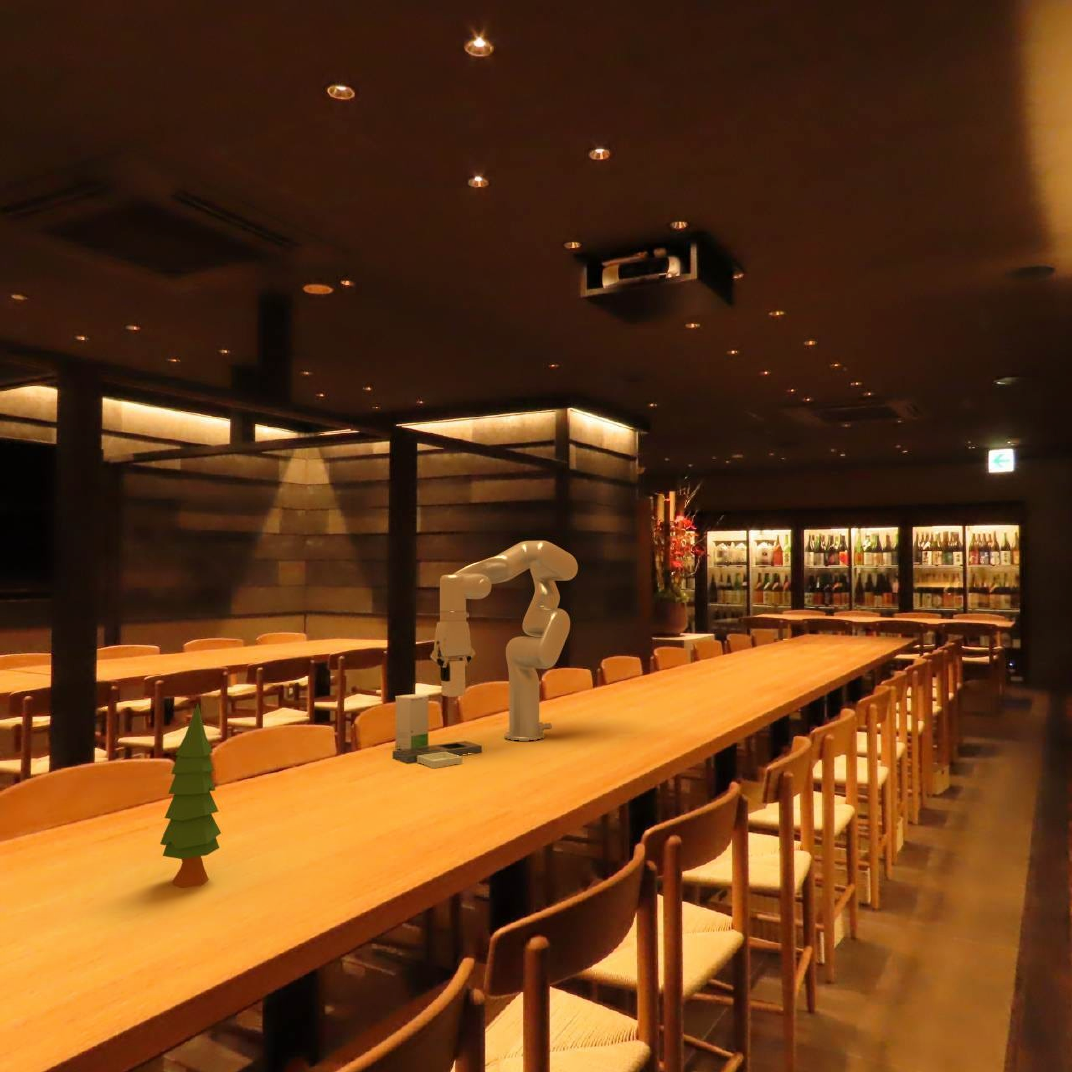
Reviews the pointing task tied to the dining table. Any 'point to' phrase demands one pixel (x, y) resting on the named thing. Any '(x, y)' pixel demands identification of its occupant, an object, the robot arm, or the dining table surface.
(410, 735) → the skincare box
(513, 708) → the robot arm
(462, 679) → the tall white block
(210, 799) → the decorative tree
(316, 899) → the dining table surface
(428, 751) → the dark grey slotted base
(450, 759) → the tray
